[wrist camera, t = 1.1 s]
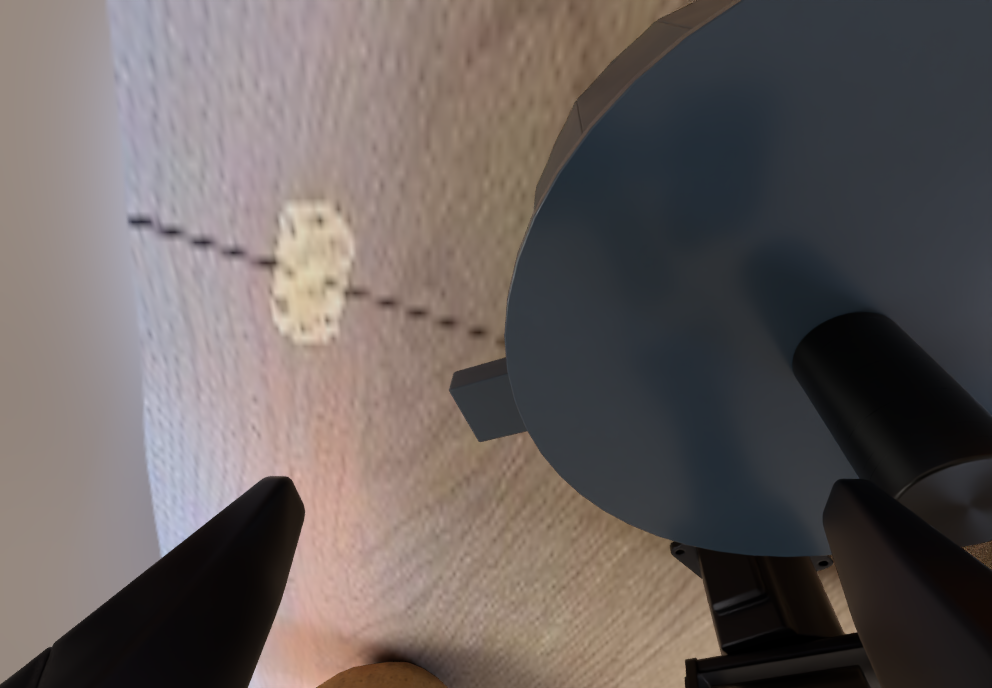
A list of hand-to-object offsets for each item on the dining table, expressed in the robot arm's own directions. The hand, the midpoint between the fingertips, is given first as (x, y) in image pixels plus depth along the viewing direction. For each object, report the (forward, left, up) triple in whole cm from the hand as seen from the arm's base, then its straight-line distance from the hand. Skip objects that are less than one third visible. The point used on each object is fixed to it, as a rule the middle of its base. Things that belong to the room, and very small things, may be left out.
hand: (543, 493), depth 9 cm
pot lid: (-5, -5, -6) cm, 9 cm away
